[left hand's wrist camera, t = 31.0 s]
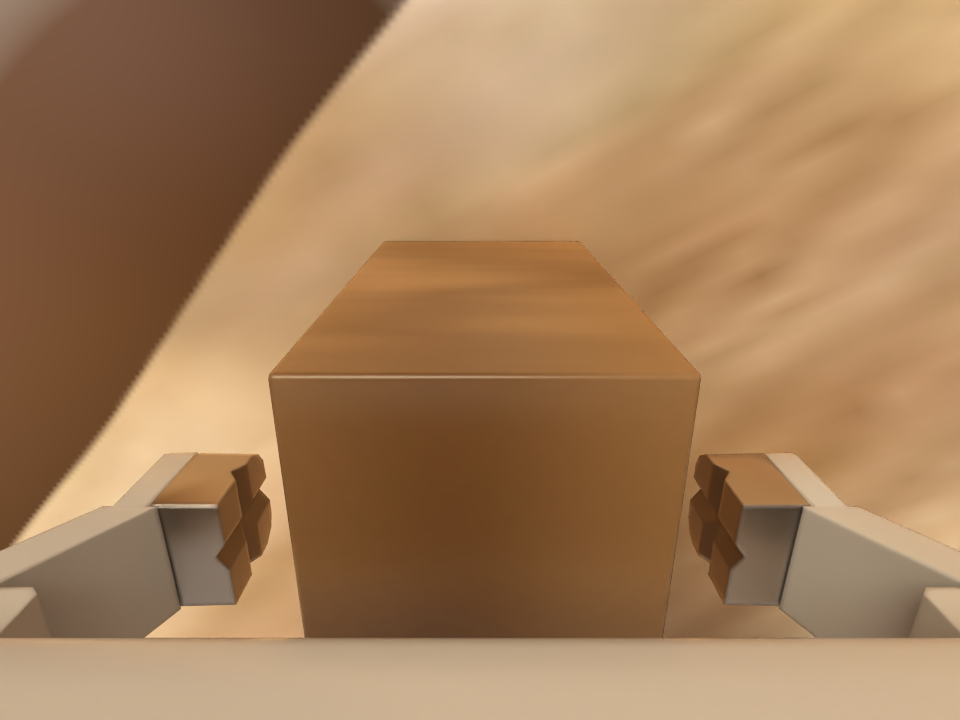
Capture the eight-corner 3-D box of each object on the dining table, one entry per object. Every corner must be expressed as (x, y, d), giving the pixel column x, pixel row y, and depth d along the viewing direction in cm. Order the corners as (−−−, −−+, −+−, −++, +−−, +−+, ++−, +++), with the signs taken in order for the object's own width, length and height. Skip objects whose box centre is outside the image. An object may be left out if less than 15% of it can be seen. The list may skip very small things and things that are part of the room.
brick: (580, 240, 15) (703, 374, 7) (567, 460, 17) (646, 759, 9) (382, 240, 15) (264, 374, 7) (395, 460, 17) (319, 759, 9)
